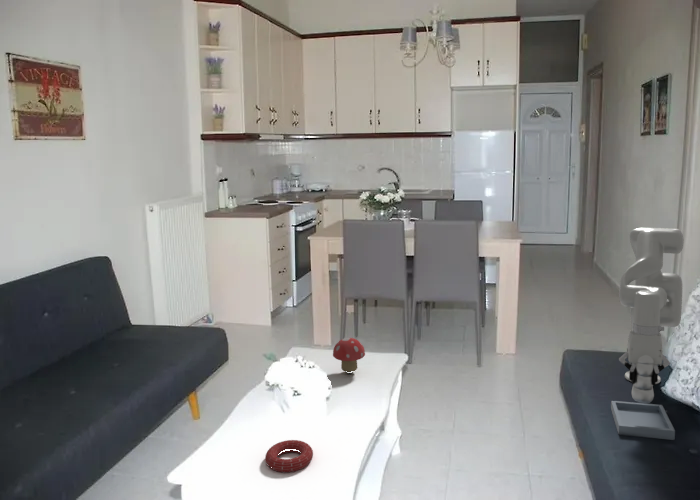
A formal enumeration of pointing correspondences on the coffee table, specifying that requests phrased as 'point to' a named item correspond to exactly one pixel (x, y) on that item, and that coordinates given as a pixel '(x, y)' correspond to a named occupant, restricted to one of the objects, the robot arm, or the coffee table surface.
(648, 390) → the plastic bottle
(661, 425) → the tray
